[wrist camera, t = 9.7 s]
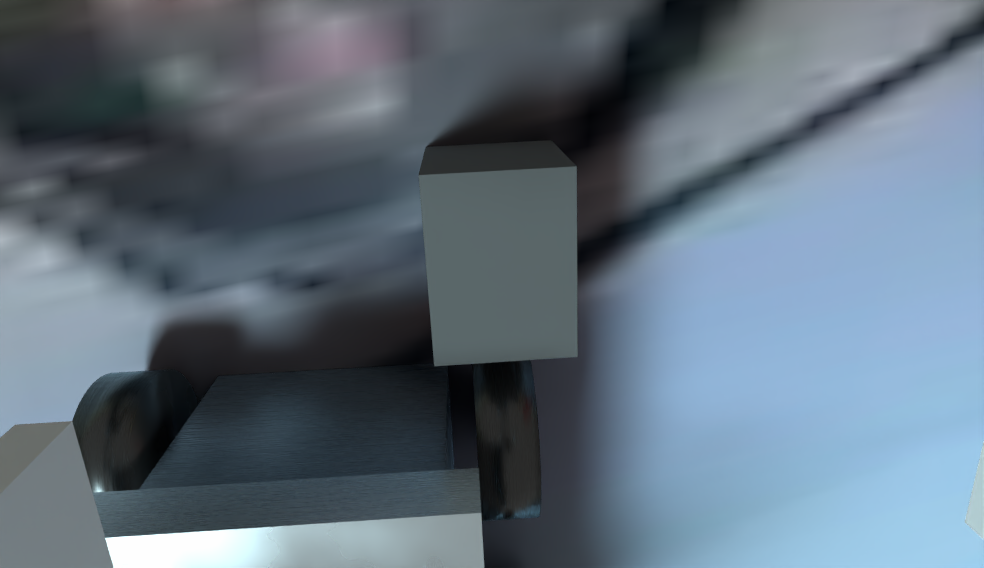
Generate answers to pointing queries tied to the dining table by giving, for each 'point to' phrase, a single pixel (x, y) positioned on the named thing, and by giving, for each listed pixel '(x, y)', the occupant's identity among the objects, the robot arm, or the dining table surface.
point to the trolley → (306, 467)
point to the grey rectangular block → (500, 251)
